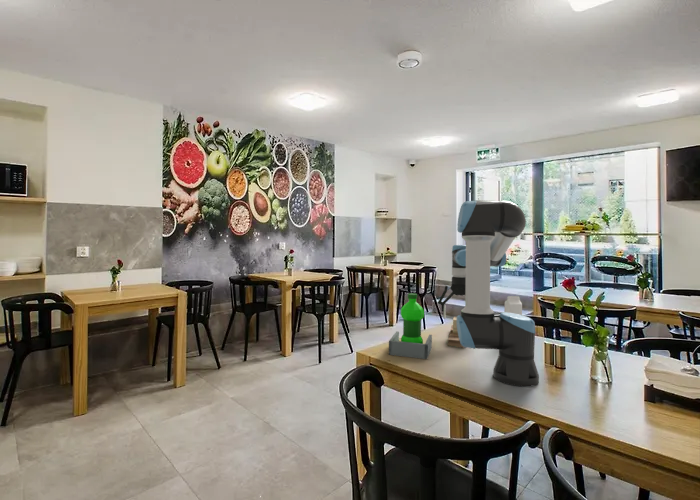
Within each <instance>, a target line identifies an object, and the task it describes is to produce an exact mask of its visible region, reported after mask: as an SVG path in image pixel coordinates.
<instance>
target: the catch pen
mask: <svg viewBox="0 0 700 500" xmlns="http://www.w3.org/2000/svg"><path fill="white" fill-rule="evenodd" d="M432 347H433V335H432V334H429V335H428V336H427V339H426V341H425V343H423V344H421V343H412V342H402V341H401V340H400V332H399V331H395V332H394V334H393V335H392V337H391V338H390V339H389V340H388V355H389V356H395V355H396V356H397V357H398V356H399V357H406V358H412V359H413V358H415V359H421V360H422V359H423V360H428V358H429V356H430V354H431V352H432V351H431V350H432Z"/></svg>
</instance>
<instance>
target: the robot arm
mask: <svg viewBox="0 0 700 500" xmlns="http://www.w3.org/2000/svg"><path fill="white" fill-rule="evenodd" d="M526 220H527V219H526V216H525V212H524V211H523V210H522V208H520V206H518V204H515V203H514V202H511V201H509V200H479V199H478V200H476V199H475V200H467V201H464V202H463V203H462V204H461V206H460V208H459V213H458V218H457V225H456V226H457V230H456V231H457V232H458V233H461V239H463V241H465V244H454V245H452V248H451V249H452V250H451V285H447V284H446V285H445V286H444V290H443V293H442V294H441V296H440V298H439V300H438V301H437V303H438V304H439V305H440V306H441V312H443V319H444V320H445V319H447V317H446V316H447V313H446V312H447V305H446V303H447V302H448V301H449V300H450V299H451V298H452V297H454V295H455V296H461V297H462V296H464V297H465V305H464V307H463V308H462V309H461V310H460V314H459V315H457V316H456V317H457V318H456V319H457V331H458V336H459V340H460V343H461V345H462V346H463V347H466V348H465V349H467V348H468V349H473V350H476V349H478V350H479V349H482V350H498V356H497V360H496V362H495V363H494V366H493V377H494V379H496V380H497V381H499V382H501V383H504V384H506V385H510V386H514V387H515V386H516V387H533V386H534V387H535V386H537V385H538V384H539V383H540V375H539V372H538V368H537V365H536V361H535V345H536V344H535V343H536V342H535V340H536V338H535V337H536V324H535V323H536V322H535V320H533V319H532V318H531V317H528V316H527V315H523V314H522V315H519V314H515V313H508V312H503V311H502V312H500V314H499V316H495V311H494V310H493V309H492V308H491V267H495V268H496V267H504V266H505V265H506V262H507V254H506V252H507V251H508V250H509V247H510V246H511V244H512V243H513V241H514V240H515V238H516V237H519V236H520V235H521V234H522V233H523V232H524V230H525V227H526V223H527V221H526ZM449 290H451V292H450V294H449V295H448V296H447V297H446V298H445V295H446V293H448V291H449ZM444 298H445V299H444ZM443 299H444V300H443ZM463 347H462V348H463Z"/></svg>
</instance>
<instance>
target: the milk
mask: <svg viewBox="0 0 700 500" xmlns="http://www.w3.org/2000/svg"><path fill="white" fill-rule="evenodd" d="M503 309H504V310H503V311H504V312H508V313H515V314H519V315H523V303H522V301H521V298H520V296H519V295H517V296H514V295H513V296H511V295H509V296H507V297H506V300H505V301H504V308H503Z"/></svg>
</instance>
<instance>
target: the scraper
mask: <svg viewBox="0 0 700 500" xmlns="http://www.w3.org/2000/svg"><path fill="white" fill-rule="evenodd" d="M456 318H457V316H453V319H452V325H451V327H450V332H449V335H448V338H447V346H448V347H454V346H456V347H455V348H463V346H462V345H461V343H460V340H459V336H458V331H457V319H456ZM464 348H465V349H467V348H466V347H464Z"/></svg>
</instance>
